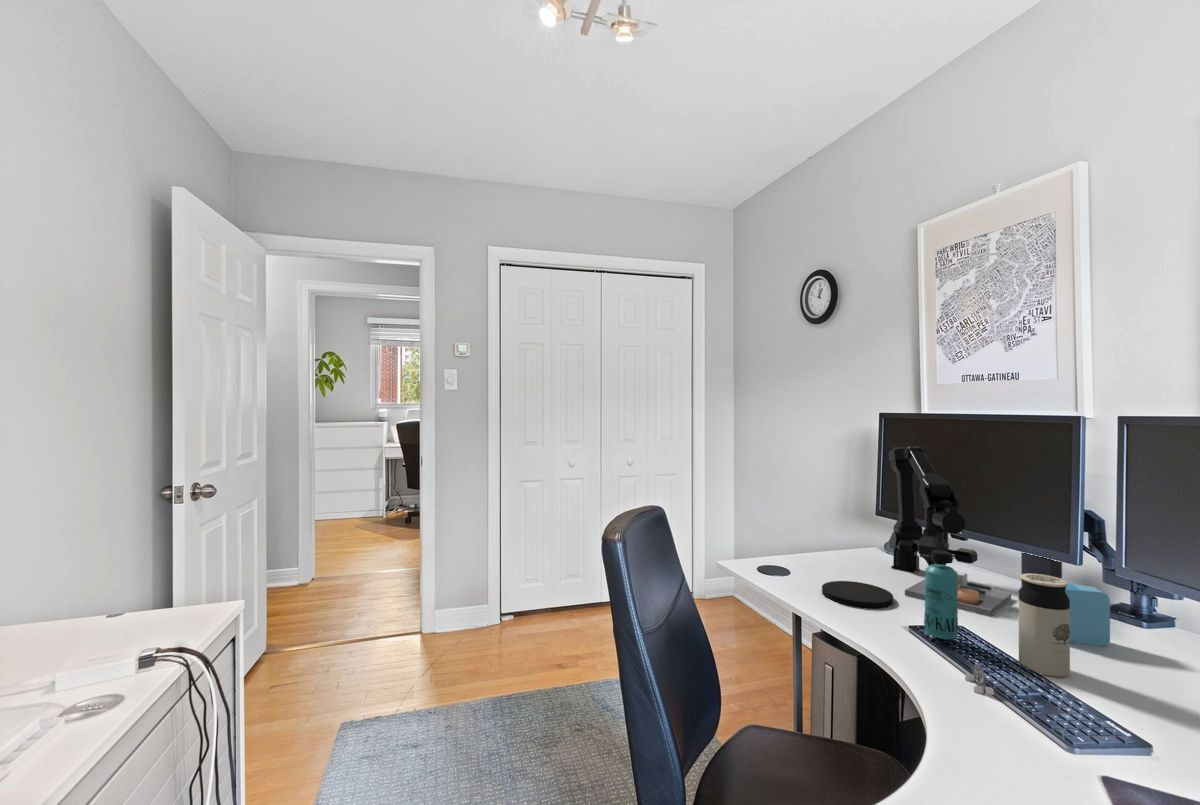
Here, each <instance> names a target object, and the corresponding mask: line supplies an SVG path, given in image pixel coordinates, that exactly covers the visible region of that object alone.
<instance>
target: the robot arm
mask: <svg viewBox="0 0 1200 805" xmlns="http://www.w3.org/2000/svg"><path fill="white" fill-rule="evenodd" d="M888 461H889V462H890V467H891V469H892V470H893V472H894V473H895V474H896V489H897V490H896V491H897V508H898V509H897V510H898V519H897V520H896V522H895V524H894V525H893V532H892V533H891V535H890V537H889V540H888V546H889V549H892V551H893V557H892V558H893V565H891V566H890V567H891V569H895V570H900V571H904V572H908V573H914V572H917V571H918V570H920V558H922V559H924V560H925V561H926V564H927V565H928V566H930V565H932V564H939V565H945V566H947V564H948V563H939V562H935V561H932V560H931V554H932V551H934V550H940V551H946V552H950V553H951V554H952V560H953V561H954V559H955V561H957V562H958V563H964V564H974V563H975V562H977V561H978V553H977V551H976V550H975V549H969V548H963V547H960V548H957V549H951V548H950V543H949V534H952V535H955V534H959V533H961V532H963V531H964V529H965V527H966V521H965V519H964V516H962V515H961V514H960V513H958V510H959V508H960V506H959V504H960V503H959V500H958V498H957V495H956V494H955V492H954V491H955V490H954V489H953V487H952V486H951V484H950V483H949V482H948V481H947V480H946V478H945V477H944V478H943V477H942V476H939V475H938V474H937V472H936V470H935V468H934V467H933V465H932V464H931V462H930V461H929V459H928V457H927V454H926V450H925V448H924V447H921V446H906V447H892V448H891V450H889V451H888ZM914 474H915V476H916V477H917V478H918V481H919V482H920V487H919V489H918V490H919V495H920V497H921V499H922V501H923V505H922V506H923V508H924V529H923V527H922V525H919V524H920V523H918V521H917V520H916V508H915V507H916V506H915V505H916V504H915V490H914V488H915V487H914V486H915V485H914Z"/></svg>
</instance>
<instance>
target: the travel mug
mask: <svg viewBox="0 0 1200 805" xmlns="http://www.w3.org/2000/svg"><path fill="white" fill-rule="evenodd" d="M1019 578H1020V579H1022V582H1023V585H1021V587H1020V588H1019V589H1018V662H1020V663H1021V664H1023V665H1024V666H1026V667H1028V668H1029V669H1031V670H1033V671H1035V672H1034V673H1036V672H1038V673H1037V674H1039V673H1041V674H1040V675H1042V674H1044V675H1043V676H1046V675H1048V676H1047V677H1053V676H1056V677H1055V678H1062V677H1068V676H1069V675H1070V674H1071V673H1070V672H1071V665H1070V664H1071V660H1070V659H1071V656H1070V655H1071V647H1070V646H1071V643H1070V599H1069V598H1068V596H1067V594H1066V593H1065V590H1066V586H1068V584H1069V583H1068V581H1067V580H1065V579H1063V578H1061V579H1060V578H1056V577H1052V576H1048V575H1042V574H1022V575H1021V574H1020V576H1019ZM1020 663H1019V664H1020ZM1021 664H1020V665H1021ZM1024 666H1023V667H1024ZM1029 669H1028V670H1029ZM1031 670H1030V671H1031ZM1033 671H1032V672H1033Z"/></svg>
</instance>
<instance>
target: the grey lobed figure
mask: <svg viewBox="0 0 1200 805" xmlns="http://www.w3.org/2000/svg"><path fill="white" fill-rule="evenodd" d="M964 680H965V681H967V682H968V681H969V682H974V683H975V684H976V685H975V686H974V687H973V693H977V694H978V693H979V694H983V695H985V694H986V695H992V696H994V695H995V691H994V690H995V689H994V688H992V687H990V686H986V679H985V677H984V673H983V669H982V668H981V666H980V665H979V664H978V663H976V664H975V665H973V666H972V673H967V674H965V676H964Z"/></svg>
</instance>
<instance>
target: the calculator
mask: <svg viewBox="0 0 1200 805" xmlns="http://www.w3.org/2000/svg"><path fill="white" fill-rule="evenodd" d="M1020 552H1021V551H1020ZM1020 554H1021V558H1020V559H1021V561H1020V562H1021V564H1020V565H1021V574H1020V575H1022V574H1042V575H1048V576H1052V577H1056V578H1060V579H1062V578H1063V561H1062V562H1058V561H1054V560H1051V559H1047V558H1044V557H1039V556H1035V555H1030V554H1027V553H1022V552H1021V553H1020ZM1020 579H1021V578H1020ZM1022 585H1023V582H1022V579H1021V586H1022Z"/></svg>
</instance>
